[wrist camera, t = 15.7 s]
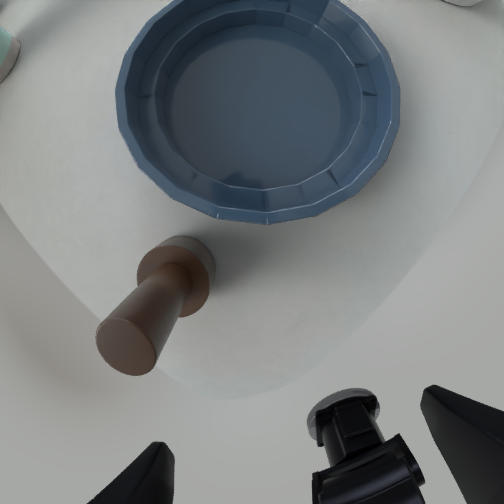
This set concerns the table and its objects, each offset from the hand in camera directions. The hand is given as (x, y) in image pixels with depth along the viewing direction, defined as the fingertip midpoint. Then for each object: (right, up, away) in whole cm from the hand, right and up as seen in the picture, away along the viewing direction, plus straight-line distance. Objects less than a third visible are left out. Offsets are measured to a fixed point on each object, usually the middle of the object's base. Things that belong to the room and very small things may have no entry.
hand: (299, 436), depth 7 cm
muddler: (-6, +5, +11) cm, 13 cm away
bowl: (-1, +16, +8) cm, 18 cm away
